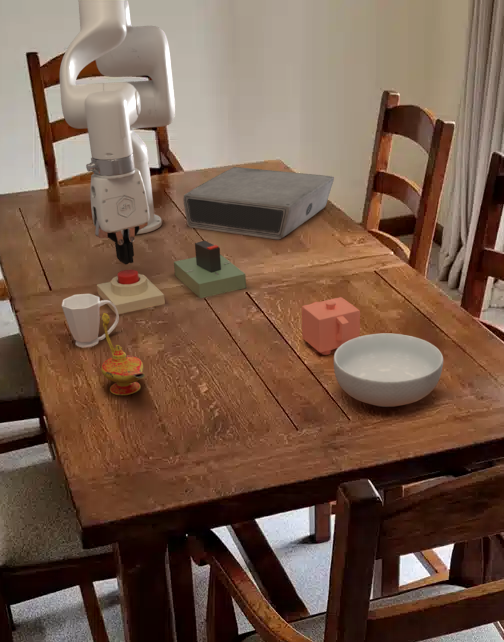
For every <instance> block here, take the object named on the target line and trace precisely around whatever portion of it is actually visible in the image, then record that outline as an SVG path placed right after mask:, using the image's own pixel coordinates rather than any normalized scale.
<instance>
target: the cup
mask: <svg viewBox="0 0 504 642" xmlns="http://www.w3.org/2000/svg"><path fill="white" fill-rule="evenodd" d="M100 298H101V297H100V296H99V295H94V294H92V293H81V294H80V293H77V294H73V295H71V296H68V297H66V298H64V299H62V302H61V308H62V312H63V315H64V317H65V320H66V323H67V327H68V329H69V331H70V334H71V336H72V338H73V340H74V341H75V343H74V344H75V346H77V347H79V348H92V347H95V346H96V345H98V344H99V341H102V340H104V339H106V336H105V333H103V334H102V335H101V336H99V332H100V320H101V319H100V318H101V317H100V315H101V314H100V313H101V312H100V307H102V306H104V305H107V303H109V304H111V305H112V306H113V307H114V309H115V312H116V314H115V320H114V322H113V323H112V325H111V326H110V327H109V328H108V329H107V332H108V334H109V335H110V334H112V332H113V331H114V330H115V329H116V327H117V326H118V325H119V321H120V316H119V315H120V314H118V311H117V308H116V306H115V305H114V304H113V303H112V302H110V301H108V300H103V299H102V300H100Z"/></svg>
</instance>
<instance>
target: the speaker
mask: <svg viewBox="0 0 504 642" xmlns="http://www.w3.org/2000/svg"><path fill="white" fill-rule="evenodd" d="M334 181H335V176H332V175H323V174H313V173H302V172H293V171H292V172H291V171H281V170H272V169H260V168H250V167H241V166H240V167H239V166H233V167H231V168H229V169H227V170H225V171H222V172H221V173H220V174H217V175H216V176H214V177H212V178H210V179H209V180H207V181H205V182H203V183H201V184H200V185H198V186H196V187H194V188H193V189H191V190H189V191H188V192H186V193H185V194H183V198H182V199H183V201H182V202H183V207H184V213H185V219H186V225H187V226H188V227H189V228H191V229H200V230H206V231H212V232H213V231H214V232H222V233H227V234H235V235H242V236H250V237H255V238H256V237H257V238H262V239H263V238H264V239H270V240H279V241H280V240H281V239H283V238H284V237H285V236H287V235H289V234H290V233H291V232H293V231H294V230H296V229H297V228H298V227H300V226H301V225H303V224H304V223H306V222H307V221H308V220H310V219H311V218H313V217H314V216H316V215H317V214H318V213H320V212H321V211H322V210H323V209H325V208H326V206H327V204H328V201H329V197H330V193H331V191H332V187H333V184H334Z"/></svg>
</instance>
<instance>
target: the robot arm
mask: <svg viewBox="0 0 504 642" xmlns="http://www.w3.org/2000/svg"><path fill="white" fill-rule="evenodd" d="M77 1H78V13H79V27H80V29H79V32H78V34H77V35H76V36H75V37H74V38H73V39H72V41H71V42H70V44H69V45H68V47H67V48H66V50H65V53H64V54H63V56H62V60H61V63H60V68H59V88H60V89H59V90H60V103H61V110H62V115H63V118H64V121H65V122H66V124H68V126H69V127H71V128H74V129H77V130H79V129H82V130H83V129H87V134H88V140H89V147H90V154H91V156H90V162H89V163H87V164H86V166H85V168H86V170H87V172H92V173H93V174H91V176H90V208H91V216H92V217H91V218H92V223H93V225H94V227H95V234H94V236H96V237H97V238H98V239H110V240H111V241H112V242H113V243H114V247H115V248H114V249H115V254H116V255H115V256H116V259H117V260H118V261H119V262H120V263H122V264H123V265H129V264H133V263H134V256H135V251H134V242H135V240H136V236H137V235H142V234H147V233H150V232H153V231H156V230H158V229H159V228H161V226H162V225H163V221H162V220H163V219H162V217H161V216H159V215H158V214H155V207H154V198H153V188H152V181H151V180H152V179H151V171H150V170H151V169H150V161H149V152H148V147H147V145H146V143H145V142H144V140H143V139H142V138H141V137H140V135H139V134H138V133H136V131H135V130H137V129H146V128H159V127H160V128H161V127H167V126H170V125H171V124H172V123H173V122H174V121H175V117H176V99H175V90H174V89H175V87H174V79H173V70H172V69H173V68H172V58H171V51H170V44H169V41H168V37H167V34H166V32H165V31H164V30H163V29H162V28H161V27H159V26H156V25H142V26H141V25H139V26H134V25H133V24H132V21H131V12H130V3H129V0H77ZM94 61H95V64H96V68H97V69H98V72H99V73H100V74H101V75H102V76H104V77H108V78H128V77H140V76H141V77H142V76H148V77H149V78H150V80H138V81H136V80H135V81H134V80H132V81H131V80H130V81H115V82H97V83H96V82H94V83H82V84H81V83H80V84H76V83H77V78H78V76H79V75H80V73H81V71H82V70H83V69H84V68H85V67H87V66H88V65H89V64H91V63H92V62H94Z"/></svg>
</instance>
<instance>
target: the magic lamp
mask: <svg viewBox="0 0 504 642" xmlns="http://www.w3.org/2000/svg"><path fill="white" fill-rule="evenodd" d="M101 320H102V322H103V323H102V327H103V330H104V334H105V336H106V337H105V340H106V342H107V344H108V347H109V349H110V353H111V355H112V357H109V358H108V359H105V360H104V361H103V362H102V364H101V367H100V371H101V373H102V375H103V377H105V378H106V379H107V380H108V381H111V382H114V383H113V384H111V386H110V387H109V392H110V393H112V394H113V395H115V396H128V395H133V394H135V393H137V392H138V391H140V390H141V384H140V383H139V382H138V381H139V380H143V379H144V378H145V377H146V374H145V373H144V372H143V371H144V363H143V362H142V360H141V359H140V357H139V358H138V357H137V356H134V355H129V354H128V355H127V354H126V352H125V351H124V350H123V347H122V346H121V345H120V344H115V347H114V345H113V343H112V340H111V338H110V334H108V332H107V331H108V327H109V324H110V320H111V318H110V315H109V314H108V313H106V312H103V314H102V315H101Z"/></svg>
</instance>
